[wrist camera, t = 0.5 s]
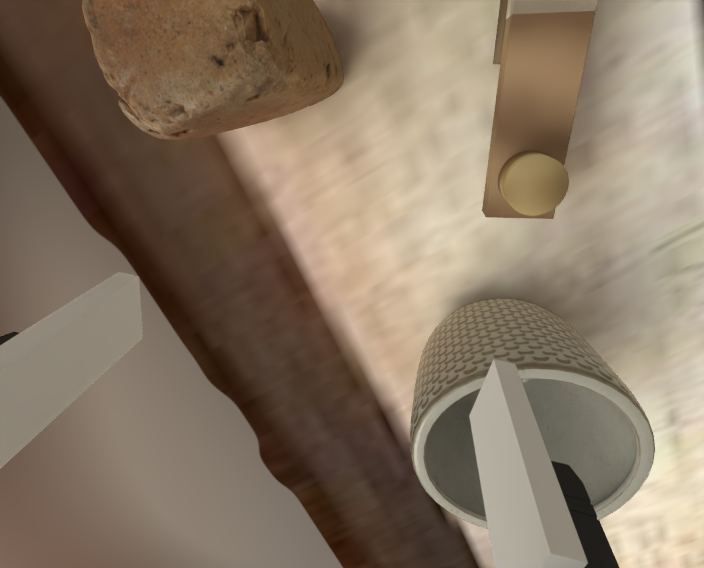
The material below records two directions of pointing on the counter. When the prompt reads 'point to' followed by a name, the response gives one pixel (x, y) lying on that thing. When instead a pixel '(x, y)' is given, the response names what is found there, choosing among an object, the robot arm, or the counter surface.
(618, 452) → the planter
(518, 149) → the beam
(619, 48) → the counter surface
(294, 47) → the block
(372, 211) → the counter surface
